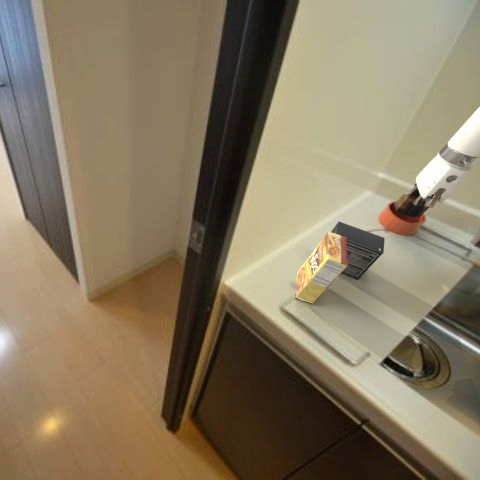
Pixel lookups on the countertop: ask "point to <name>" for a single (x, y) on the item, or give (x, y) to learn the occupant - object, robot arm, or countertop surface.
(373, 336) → the countertop surface
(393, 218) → the bowl
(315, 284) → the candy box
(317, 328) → the countertop surface
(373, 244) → the small box
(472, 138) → the robot arm
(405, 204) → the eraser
